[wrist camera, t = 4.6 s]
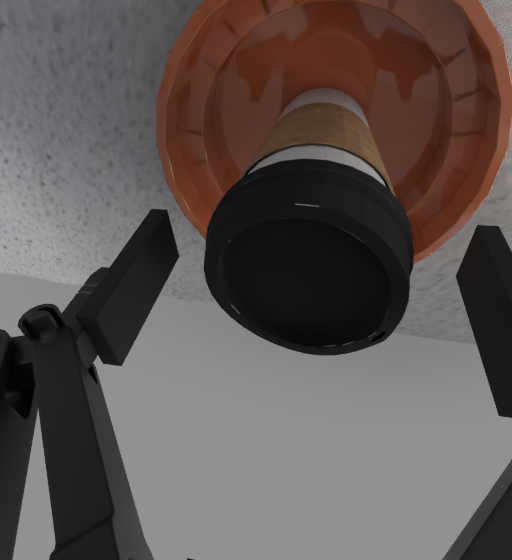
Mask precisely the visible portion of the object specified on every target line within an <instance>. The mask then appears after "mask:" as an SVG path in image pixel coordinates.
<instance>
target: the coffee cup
mask: <svg viewBox="0 0 512 560" xmlns="http://www.w3.org/2000/svg"><path fill="white" fill-rule="evenodd" d="M413 261H414V247H413V235H412V230H411V224H410V221H409V219H408V217H407V214H406V212H405V210H404V208H403V206H402V204H401V203H400V202H399V201H398V199H397V198H396V196H395V193H394V190H393V187H392V185H391V182H390V180H389V177H388V175H387V172H386V169H385V167H384V164H383V162H382V159H381V157H380V154H379V151H378V149H377V146H376V144H375V141H374V138H373V136H372V134H371V132H370V129H369V125H368V122H367V119H366V117H365V114H364V112H363V110H362V108H361V107H360V105H359V104H358V103H357V101H356V100H354V99H353V98H352V97H351V96H350V95H348V94H346V93H344V92H342V91H340V90H337V89H333V88H317V89H312V90H309V91H306V92H304V93H302V94H301V95H299V96H297V97H296V98H295V99H294V100H293V101H291V102H290V103H289V104H288V106H287V107H286V108H285V110H284V111H283V113H282V114H281V116H280V117H279V119H278V121H277V123H276V124H275V126H274V127H273V129H272V130H271V131H270V133H269V134H268V136H267V137H266V139H265V140H264V142H263V143H262V145H261V146H260V148H259V149H258V151H257V152H256V154H255V155H254V157H253V158H252V160H251V161H250V163H249V164H248V166H247V167H246V169H245V170H244V172H243V173H242V175H241V176H240V178H239V179H238V181H237V183H235V184H234V185H233V186H232V187H231V188H230V189H229V190H228V191H227V192H226V193H225V195H224V196H223V198H222V199H221V200H220V202H219V203H218V205H217V207H216V210H215V211H214V212H213V214H212V217H211V219H210V222H209V225H208V227H207V235H206V251H205V260H204V272H205V278H206V282H207V285H208V287H209V289H210V292H211V294H212V296H213V297H214V298H215V300H216V301H217V303H218V304H219V305H220V307H221V308H222V309H223V310H224V311H225V312H226V313H227V314H228V315H229V316H230V317H231V318H233V319H234V320H235V321H236V322H238V323H239V324H240V325H242V326H243V327H244V328H246V329H248V330H249V331H251V332H252V333H254V334H256V335H257V336H259V337H261V338H263V339H266V340H268V341H270V342H272V343H274V344H277V345H279V346H282V347H285V348H287V349H291V350H294V351H298V352H302V353H307V354H314V355H339V354H346V353H350V352H354V351H358V350H361V349H364V348H367V347H370V346H373V345H376V344H378V343H380V342H382V341H384V340H385V339H387V338H388V337H389V336H390V335H391V333H392V332H393V331H394V330H395V328H396V327H397V325H398V324H399V322H400V321H401V319H402V317H403V315H404V313H405V311H406V308H407V304H408V301H409V290H410V274H411V272H412V269H413Z"/></svg>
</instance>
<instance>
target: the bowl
mask: <svg viewBox="0 0 512 560" xmlns="http://www.w3.org/2000/svg"><path fill="white" fill-rule="evenodd" d="M317 88H333V89H337V90H340V91H342V92H344V93H346V94H348V95H350V96H351V97H352V98H353V99H354V100H356V101H357V103H358V104H359V105H360V107H361V108H362V110H363V112H364V114H365V117H366V119H367V122H368V125H369V129H370V132H371V134H372V136H373V138H374V141H375V144H376V146H377V149H378V151H379V154H380V157H381V159H382V162H383V164H384V167H385V169H386V172H387V175H388V177H389V180H390V182H391V185H392V187H393V190H394V193H395V196H396V198H397V199H398V201H399V202H400V203H401V204H402V206H403V208H404V210H405V212H406V214H407V217H408V219H409V221H410V224H411V230H412V235H413V247H414V261H413V264H414V263H416V262H418V261H420V260H422V259H423V258H425V257H427V256H429V255H431V254H432V253H433V252H435V251H436V250H437V249H438V248H439V247H441V246H442V245H443V244H444V243H445V242H446V241H448V240H449V239H450V238H451V237H452V236H454V235H455V234H456V233H457V232H458V231H460V230H461V229H462V228H463V227H464V226H465V225H466V223H467V222H468V221H469V219H470V218H471V217H472V215H473V214H474V213H475V211H476V210H477V209H478V207H479V206H480V205H481V203H482V202H483V201H484V199H485V198H486V197H487V196H488V194H489V193H490V191H491V189H492V187H493V184H494V182H495V179H496V177H497V175H498V172H499V170H500V168H501V165H502V163H503V160H504V158H505V156H506V153H507V151H508V147H509V144H510V135H511V127H512V78H511V73H510V68H509V63H508V58H507V53H506V48H505V44H504V43H503V39H502V38H501V36H500V34H499V33H498V31H497V29H496V28H495V26H494V25H493V23H492V21H491V20H490V18H489V16H488V15H487V13H486V11H485V10H484V8H483V7H482V5H481V3H480V2H479V0H204V1H203V2H202V3H201V4H200V5H199V6H198V8H196V9H195V11H194V13H193V14H192V16H191V18H190V19H189V21H188V23H187V24H186V26H185V27H184V29H183V31H182V32H181V34H180V36H179V37H178V39H177V41H176V42H175V44H174V46H173V47H172V49H171V51H170V53H169V56H168V59H167V63H166V67H165V70H164V74H163V78H162V81H161V85H160V89H159V92H158V96H157V146H158V150H159V154H160V158H161V162H162V166H163V170H164V174H165V178H166V181H167V184H168V186H169V187H170V189H171V191H172V193H173V195H174V197H175V199H176V201H177V203H178V205H179V206H180V208H181V210H182V212H183V213H184V215H185V216H186V217H187V219H188V220H189V221H190V222H191V223H192V224H193V226H194V227H195V228H196V229H197V230H198V232H199V233H200V234H201V235H202V236H203V237H204V239H205V240H206V235H207V227H208V225H209V222H210V219H211V217H212V214H213V212H214V211H215V210H216V207H217V205H218V203H219V202H220V200H221V199H222V198H223V196H224V195H225V193H226V192H227V191H228V190H229V189H230V188H231V187H232V186H233V185H234V184H235V183H237V181H238V179H239V178H240V176H241V175H242V173H243V172H244V170H245V169H246V167H247V166H248V164H249V163H250V161H251V160H252V158H253V157H254V155H255V154H256V152H257V151H258V149H259V148H260V146H261V145H262V143H263V142H264V140H265V139H266V137H267V136H268V134H269V133H270V131H271V130H272V129H273V127H274V126H275V124H276V123H277V121H278V119H279V117H280V116H281V114H282V113H283V111H284V110H285V108H286V107H287V106H288V104H289V103H290V102H291V101H293V100H294V99H295V98H296V97H297V96H299V95H301V94H302V93H304V92H306V91H309V90H312V89H317Z"/></svg>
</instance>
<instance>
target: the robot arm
mask: <svg viewBox="0 0 512 560" xmlns="http://www.w3.org/2000/svg"><path fill="white" fill-rule="evenodd" d="M178 258H179V253H178V250H177V246H176V242H175V238H174V234H173V231H172V227H171V223H170V219H169V215H168V212H167V210H160V209H151V210H150V212H149V213H148V215H147V216H146V217H145V219H144V220H143V222H142V223H141V224H140V226H139V227H138V229H137V230H136V231H135V233H134V234H133V236H132V237H131V238H130V240H129V241H128V243H127V244H126V245H125V247H124V248H123V250H122V251H121V252H120V254H119V255H118V257H117V258H116V259H115V261H114V262H113V264H112V265H111V266H110V268H106V267H101V268H100V269H98V270H97V271H96V272H94V273H93V274H92V275H91V276H90V277H89V278H88V280H87V281H86V282H85V284H84V286H82V288H81V289H80V290H79V291H78V292H79V293H77V294H76V295H75V297H74V298H73V299H72V301H71V302H70V303H69V305H68V306H67V307H66V309H65V310H64V311H63V313H61V312H60V310H59V309H58V307H57V306H55V305H53V304H42V305H38V306H36V307H34V308H32V309H30V310H28V311H27V312H26V313H25V314H23V315H22V317H21V318H20V320H19V322H18V327H19V328H20V329H21V331H22V332H23V334H24V336H18V337H12V338H11V337H10V336H9V334H8V333H7V332H6V331H5V330H1V329H0V560H12V558H13V552H14V546H15V540H16V534H17V529H18V523H19V517H20V511H21V505H22V499H23V493H24V488H25V482H26V476H27V470H28V464H29V458H30V452H31V446H32V440H33V435H34V428H35V422H36V417H37V411H38V409H39V416H40V424H41V432H42V439H43V447H44V455H45V463H46V470H47V478H48V485H49V493H50V501H51V508H52V516H53V524H54V532H55V539H56V540H55V541H56V545H55V549H54V551H53V552H52V553H51V555H50V559H49V560H154V558H153V556H152V553H151V551H150V549H149V547H148V545H147V543H146V540H145V538H144V535H143V532H142V528H141V524H140V521H139V517H138V514H137V510H136V507H135V503H134V500H133V496H132V493H131V489H130V486H129V482H128V479H127V475H126V472H125V468H124V465H123V461H122V458H121V454H120V451H119V447H118V444H117V440H116V437H115V433H114V430H113V426H112V423H111V419H110V416H109V413H108V409H107V405H106V402H105V398H104V395H103V391H102V388H101V384H100V381H99V377H98V374H97V370H96V367H95V366H94V364H93V362H94V360H95V359H96V357H97V355H99V357H100V359H101V361H102V362H103V364H110V365H118V366H122V364H123V362H124V360H125V358H126V357H127V355H128V353H129V351H130V349H131V347H132V345H133V343H134V341H135V340H136V338H137V336H138V334H139V332H140V330H141V328H142V326H143V324H144V322H145V321H146V319H147V316H148V315H149V313H150V311H151V309H152V307H153V305H154V303H155V302H156V299H157V298H158V296H159V294H160V292H161V290H162V288H163V286H164V284H165V282H166V281H167V279H168V277H169V275H170V273H171V271H172V269H173V267H174V265H175V263H176V262H177V260H178ZM456 279H457V282H458V285H459V288H460V292H461V295H462V298H463V301H464V304H465V308H466V311H467V314H468V317H469V321H470V324H471V327H472V330H473V334H474V337H475V340H476V343H477V346H478V350H479V353H480V356H481V359H482V362H483V366H484V369H485V372H486V376H487V378H488V382H489V385H490V389H491V392H492V395H493V398H494V401H495V405H496V408H497V411H498V414H499V416H503V417H511V418H512V252H511V250H510V248H509V246H508V244H507V242H506V240H505V238H504V236H503V234H502V232H501V230H500V228H499V226H484V225H477V227H476V230H475V232H474V234H473V237H472V239H471V241H470V244H469V246H468V249H467V251H466V253H465V256H464V258H463V260H462V263H461V265H460V268H459V270H458V272H457V275H456ZM187 560H193V559H188V558H187ZM442 560H512V460H511V462H510V463H509V465H508V466H507V467H506V469H505V470H504V472H503V473H502V475H501V476H500V477H499V479H498V481H497V482H496V483H495V485H494V486H493V488H492V489H491V490H490V492H489V493H488V495H487V496H486V498H485V499H484V500H483V502H482V504H481V505H480V506H479V508H478V509H477V510H476V512H475V513H474V515H473V516H472V518H471V519H470V521H469V522H468V523H467V525H466V526H465V528H464V529H463V531H462V532H461V534H460V535H459V536H458V538H457V539H456V541H455V542H454V544H453V545H452V546H451V548H450V549H449V551H448V552H447V553H446V555H445V557H444V558H443V559H442Z"/></svg>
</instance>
